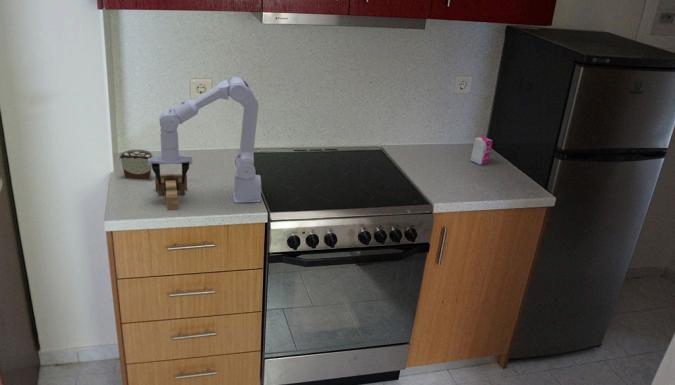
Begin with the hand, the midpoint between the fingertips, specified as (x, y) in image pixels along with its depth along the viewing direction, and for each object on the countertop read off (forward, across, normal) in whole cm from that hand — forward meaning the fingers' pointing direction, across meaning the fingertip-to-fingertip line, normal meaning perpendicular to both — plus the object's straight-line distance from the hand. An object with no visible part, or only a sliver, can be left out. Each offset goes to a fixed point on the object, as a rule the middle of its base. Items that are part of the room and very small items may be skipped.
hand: (171, 183), depth 208 cm
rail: (+7, 0, 0) cm, 7 cm away
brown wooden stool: (+7, 0, -6) cm, 9 cm away
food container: (+7, +12, -22) cm, 26 cm away
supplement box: (+8, -134, -28) cm, 137 cm away
